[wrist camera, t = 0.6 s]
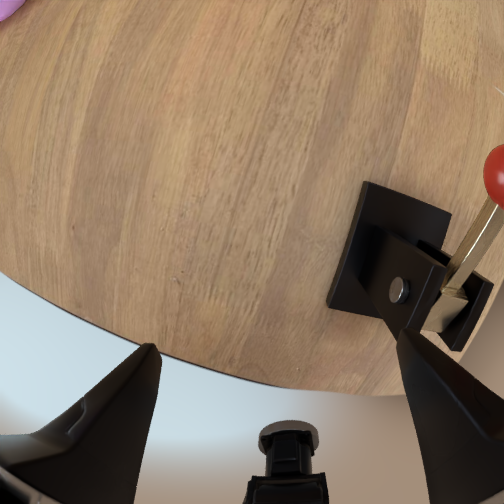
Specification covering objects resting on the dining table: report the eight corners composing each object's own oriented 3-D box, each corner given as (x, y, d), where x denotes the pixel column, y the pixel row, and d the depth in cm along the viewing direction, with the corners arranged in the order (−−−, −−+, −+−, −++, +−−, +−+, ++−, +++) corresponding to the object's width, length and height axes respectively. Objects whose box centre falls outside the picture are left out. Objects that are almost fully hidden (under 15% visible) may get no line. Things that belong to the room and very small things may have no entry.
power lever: (486, 123, 9) (525, 147, 6) (522, 151, 9) (558, 179, 6) (397, 290, 16) (408, 333, 13) (435, 299, 16) (448, 339, 13)
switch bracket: (363, 180, 20) (428, 195, 10) (445, 211, 20) (524, 243, 10) (325, 301, 23) (350, 382, 13) (405, 317, 23) (453, 388, 13)
